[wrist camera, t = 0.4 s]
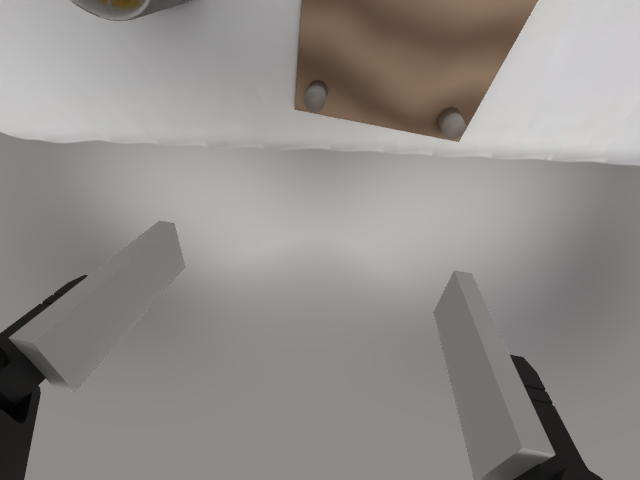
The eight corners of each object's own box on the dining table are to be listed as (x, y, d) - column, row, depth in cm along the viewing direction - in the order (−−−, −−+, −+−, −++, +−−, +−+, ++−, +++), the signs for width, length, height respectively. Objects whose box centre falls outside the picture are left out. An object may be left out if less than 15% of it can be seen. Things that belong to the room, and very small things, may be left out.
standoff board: (318, -200, 18) (308, -228, 15) (604, -138, 19) (649, -153, 16) (296, 104, 33) (289, 120, 30) (456, 135, 34) (464, 154, 31)
